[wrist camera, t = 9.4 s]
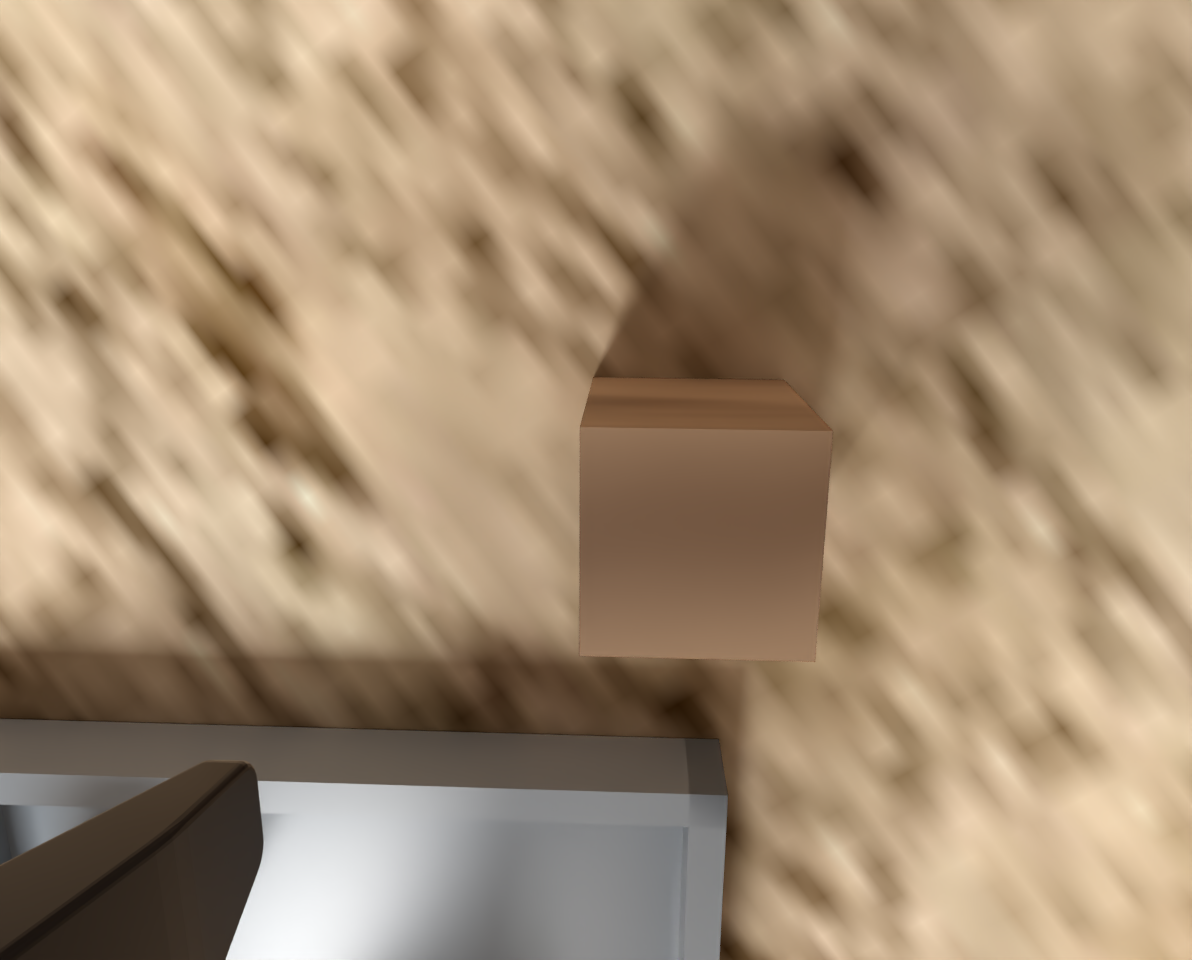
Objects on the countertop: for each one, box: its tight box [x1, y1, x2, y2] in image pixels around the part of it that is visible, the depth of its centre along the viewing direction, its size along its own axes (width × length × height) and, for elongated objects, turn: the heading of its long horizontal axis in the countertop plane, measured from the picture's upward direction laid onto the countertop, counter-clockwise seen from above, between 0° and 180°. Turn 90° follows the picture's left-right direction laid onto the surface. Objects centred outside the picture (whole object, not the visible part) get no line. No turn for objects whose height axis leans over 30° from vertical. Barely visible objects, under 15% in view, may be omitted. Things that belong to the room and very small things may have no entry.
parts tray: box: [0, 719, 728, 960], centre depth 22 cm, size 11×18×2 cm, turn 90°
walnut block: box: [579, 377, 833, 662], centre depth 17 cm, size 4×4×5 cm
